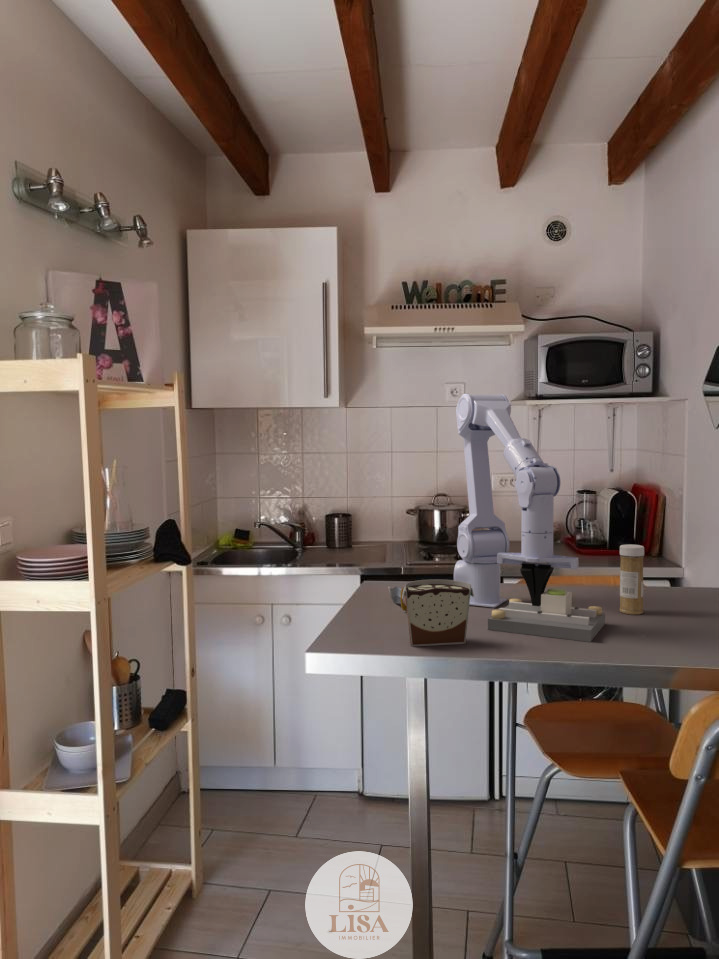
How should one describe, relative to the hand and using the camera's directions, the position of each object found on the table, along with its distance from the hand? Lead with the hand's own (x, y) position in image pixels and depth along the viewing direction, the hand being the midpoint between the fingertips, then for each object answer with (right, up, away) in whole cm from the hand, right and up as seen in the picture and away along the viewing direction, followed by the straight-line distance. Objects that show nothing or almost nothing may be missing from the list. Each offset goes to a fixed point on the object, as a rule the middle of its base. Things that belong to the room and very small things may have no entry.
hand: (536, 605), depth 132 cm
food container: (-20, -5, -9) cm, 23 cm away
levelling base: (+2, -4, -1) cm, 4 cm away
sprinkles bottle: (+21, -4, +10) cm, 24 cm away
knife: (-24, -4, +14) cm, 28 cm away
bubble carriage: (+3, -2, -2) cm, 4 cm away
